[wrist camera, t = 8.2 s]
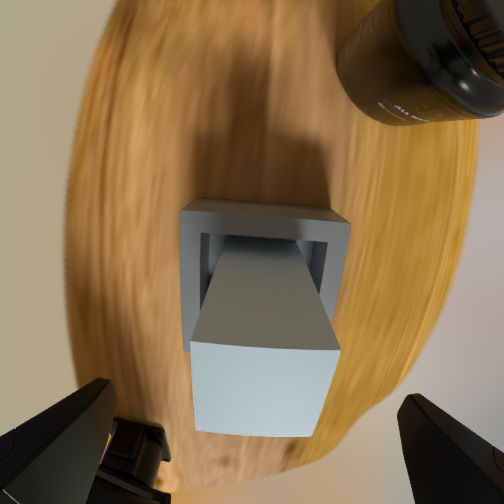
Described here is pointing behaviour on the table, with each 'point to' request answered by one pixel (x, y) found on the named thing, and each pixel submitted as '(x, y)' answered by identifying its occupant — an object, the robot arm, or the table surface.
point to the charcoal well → (261, 228)
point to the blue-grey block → (261, 344)
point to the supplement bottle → (426, 61)
